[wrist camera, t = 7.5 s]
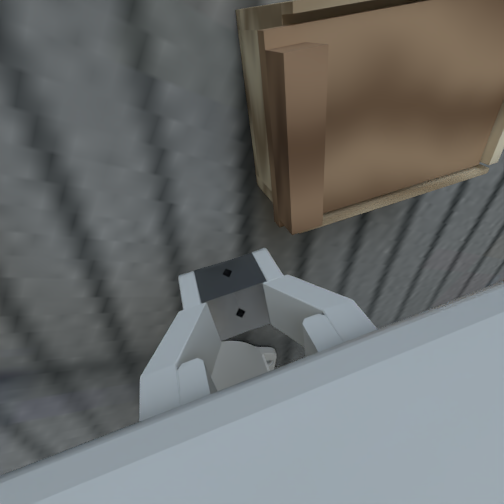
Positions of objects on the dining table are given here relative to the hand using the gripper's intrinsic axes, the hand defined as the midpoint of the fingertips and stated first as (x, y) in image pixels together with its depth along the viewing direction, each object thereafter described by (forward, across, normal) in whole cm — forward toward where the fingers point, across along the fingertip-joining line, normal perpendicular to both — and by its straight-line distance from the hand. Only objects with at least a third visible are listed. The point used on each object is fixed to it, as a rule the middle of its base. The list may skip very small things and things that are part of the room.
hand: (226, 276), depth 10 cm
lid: (+9, -13, -1) cm, 16 cm away
